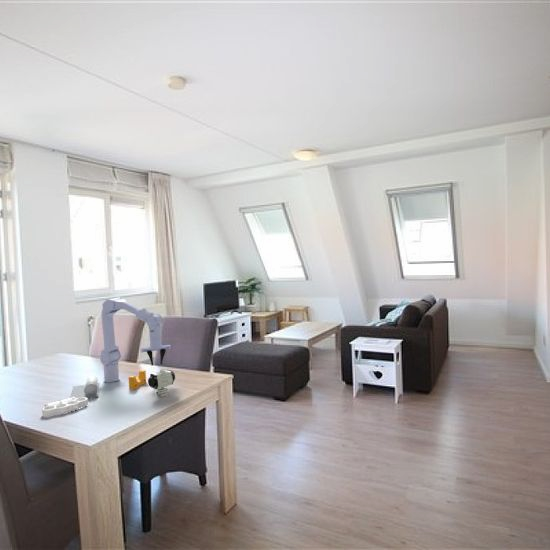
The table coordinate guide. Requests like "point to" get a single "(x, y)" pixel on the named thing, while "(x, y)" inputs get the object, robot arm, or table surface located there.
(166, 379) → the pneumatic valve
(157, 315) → the robot arm
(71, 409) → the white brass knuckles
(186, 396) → the table surface
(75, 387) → the duct pipe
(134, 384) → the orange notched block
